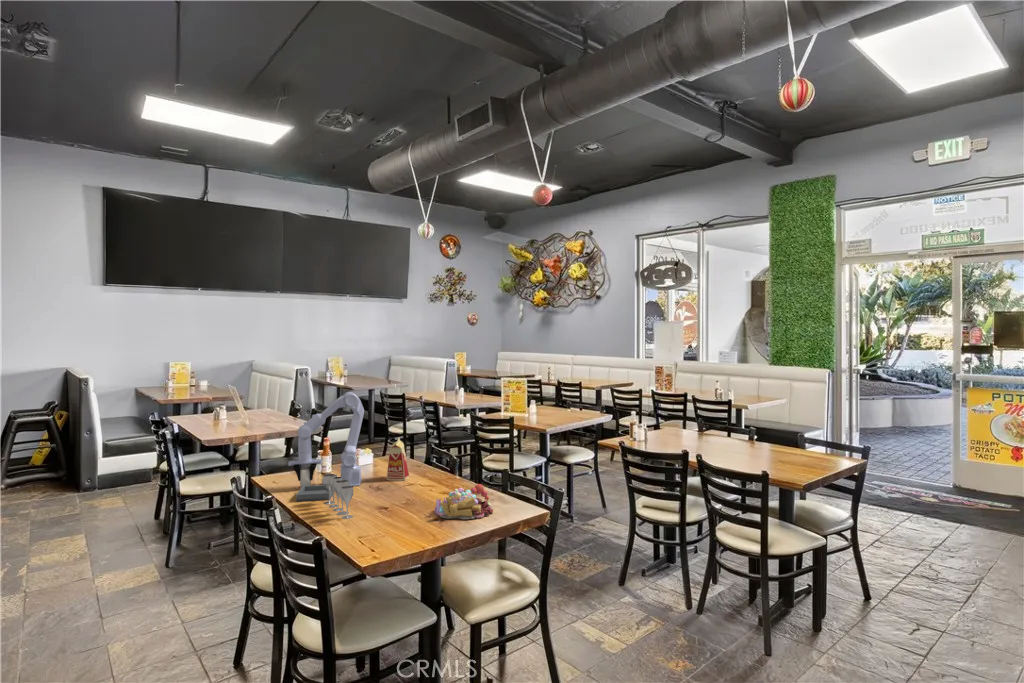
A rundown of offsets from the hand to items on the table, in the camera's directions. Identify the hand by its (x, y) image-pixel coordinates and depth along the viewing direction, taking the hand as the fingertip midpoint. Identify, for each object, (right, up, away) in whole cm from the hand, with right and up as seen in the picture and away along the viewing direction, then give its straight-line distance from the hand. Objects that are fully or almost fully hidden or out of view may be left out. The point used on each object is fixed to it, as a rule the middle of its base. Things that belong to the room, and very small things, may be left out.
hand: (305, 480), depth 254 cm
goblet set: (+25, -5, -30) cm, 40 cm away
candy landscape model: (+77, -5, -33) cm, 84 cm away
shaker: (0, -3, 0) cm, 3 cm away
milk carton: (+40, -4, +17) cm, 43 cm away
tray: (+9, -4, -12) cm, 15 cm away
